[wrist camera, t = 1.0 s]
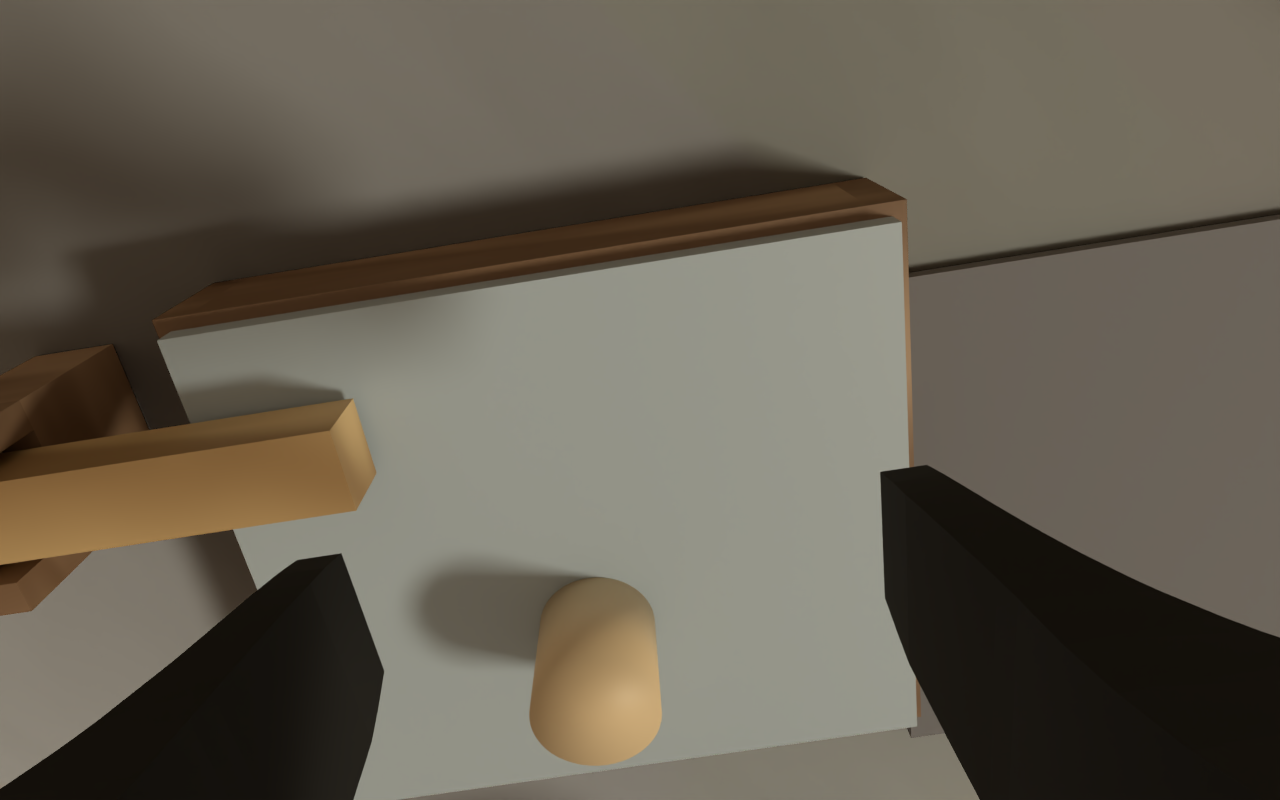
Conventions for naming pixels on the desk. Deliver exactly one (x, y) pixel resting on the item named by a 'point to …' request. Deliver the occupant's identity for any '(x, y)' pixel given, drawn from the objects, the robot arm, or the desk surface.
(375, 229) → the desk surface
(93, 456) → the tan block
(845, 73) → the desk surface
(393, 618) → the lid
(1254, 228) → the mat
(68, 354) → the wooden tray
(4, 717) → the desk surface
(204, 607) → the desk surface
